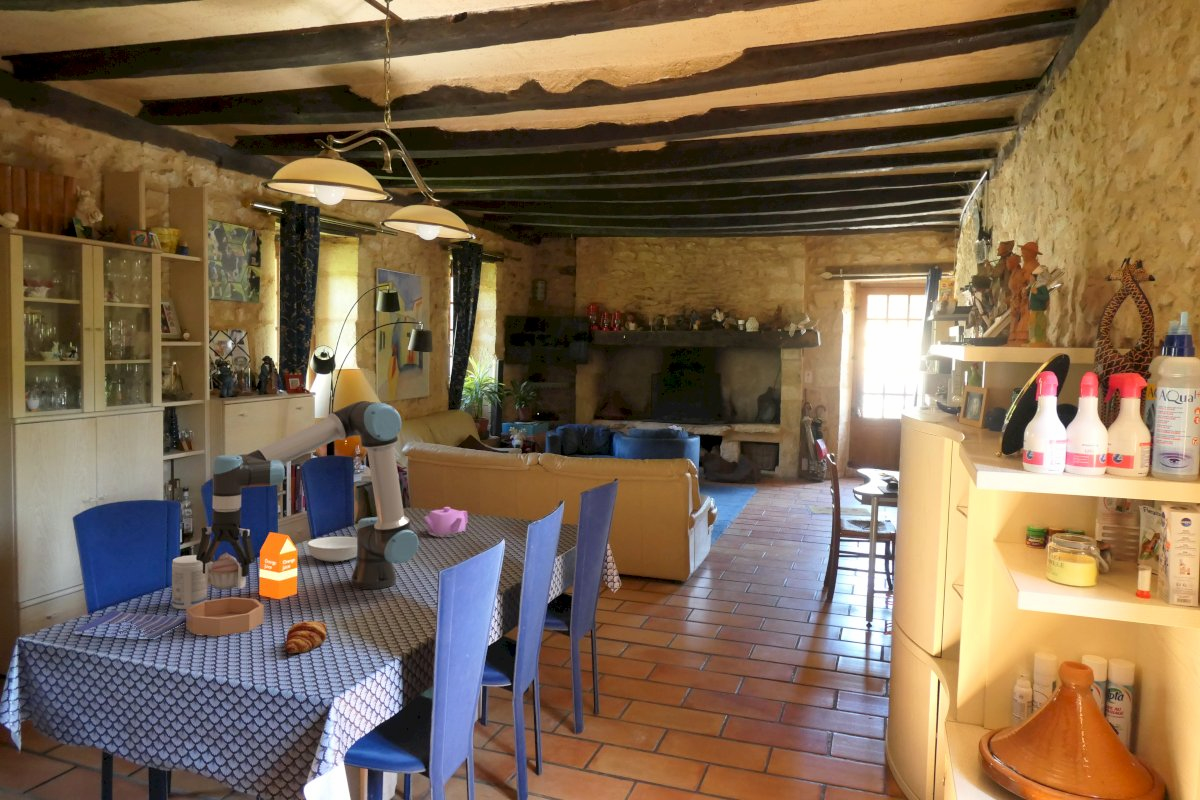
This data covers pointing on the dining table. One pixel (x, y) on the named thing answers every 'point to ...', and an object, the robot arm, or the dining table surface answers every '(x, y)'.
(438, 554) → the dining table surface
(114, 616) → the dish towel
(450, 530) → the teakettle
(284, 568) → the orange juice
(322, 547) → the serving bowl
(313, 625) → the croissant
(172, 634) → the dining table surface
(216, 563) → the cupcake
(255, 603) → the bowl
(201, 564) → the supplement tub
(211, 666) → the dining table surface
